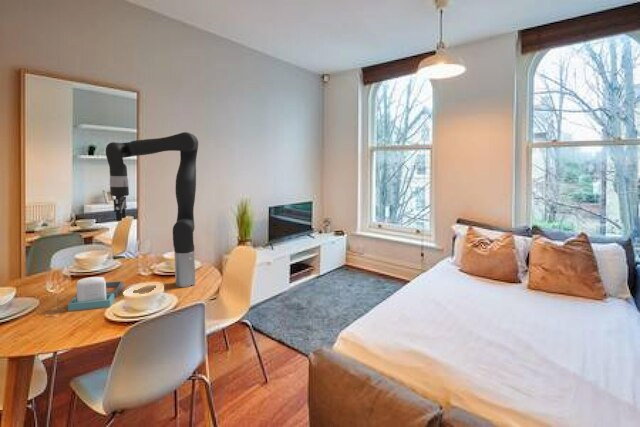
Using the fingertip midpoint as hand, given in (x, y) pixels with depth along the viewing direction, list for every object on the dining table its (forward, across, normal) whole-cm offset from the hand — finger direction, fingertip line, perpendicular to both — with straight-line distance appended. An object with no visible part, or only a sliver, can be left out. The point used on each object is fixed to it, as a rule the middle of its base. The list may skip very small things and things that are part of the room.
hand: (121, 219), depth 158 cm
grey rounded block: (+33, -22, +8) cm, 41 cm away
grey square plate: (+33, -8, +8) cm, 35 cm away
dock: (+33, -22, +8) cm, 41 cm away
